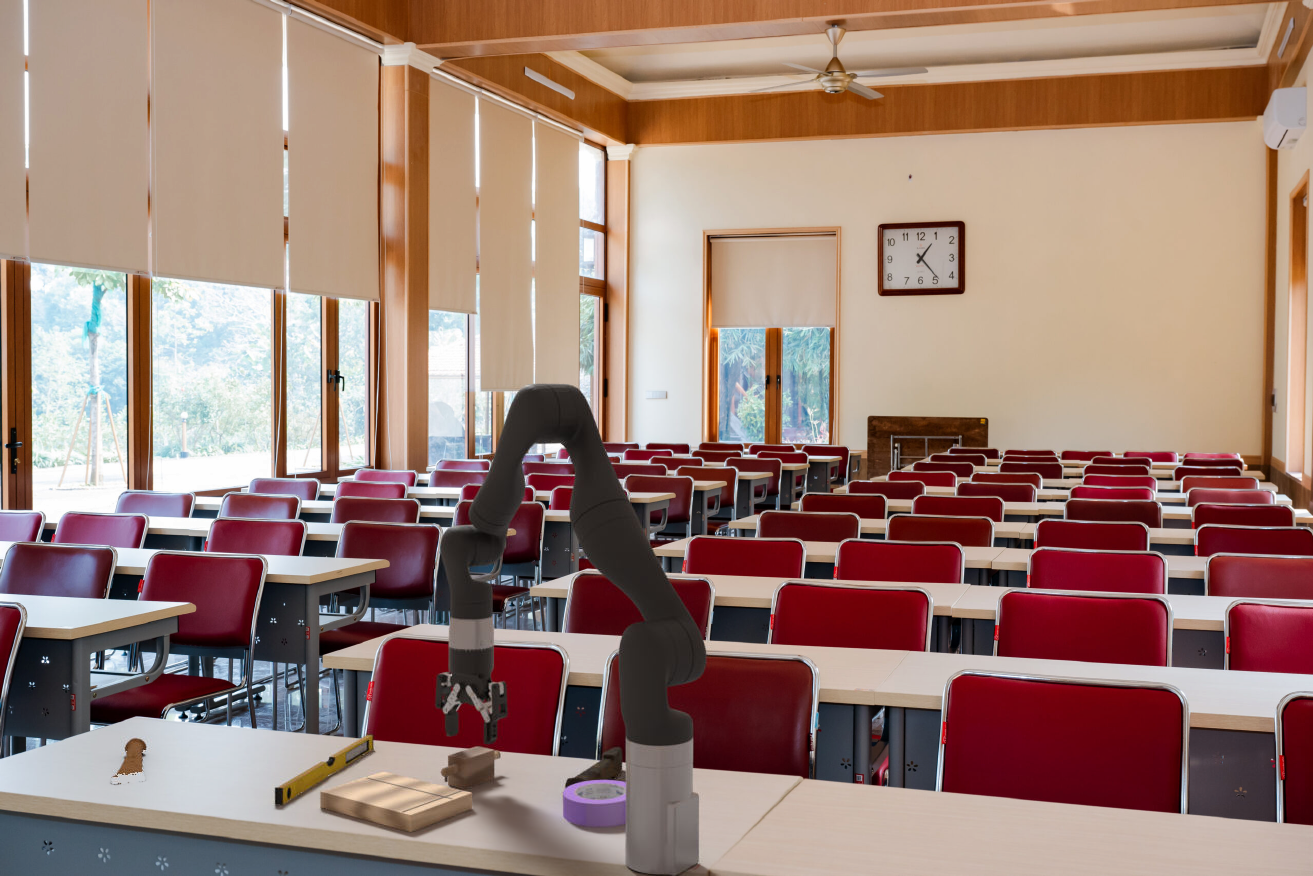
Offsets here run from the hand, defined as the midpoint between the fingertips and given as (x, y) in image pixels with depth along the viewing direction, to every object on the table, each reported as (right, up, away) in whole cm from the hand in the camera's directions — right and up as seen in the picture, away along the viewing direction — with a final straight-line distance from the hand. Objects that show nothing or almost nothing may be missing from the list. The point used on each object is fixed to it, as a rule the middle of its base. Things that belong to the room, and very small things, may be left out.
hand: (470, 739), depth 198 cm
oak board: (-9, -7, -14) cm, 18 cm away
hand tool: (+21, -8, -1) cm, 23 cm away
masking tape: (+23, -8, -17) cm, 29 cm away
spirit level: (-25, -8, +4) cm, 26 cm away
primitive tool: (-60, -8, +7) cm, 61 cm away
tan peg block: (0, -7, 0) cm, 7 cm away
